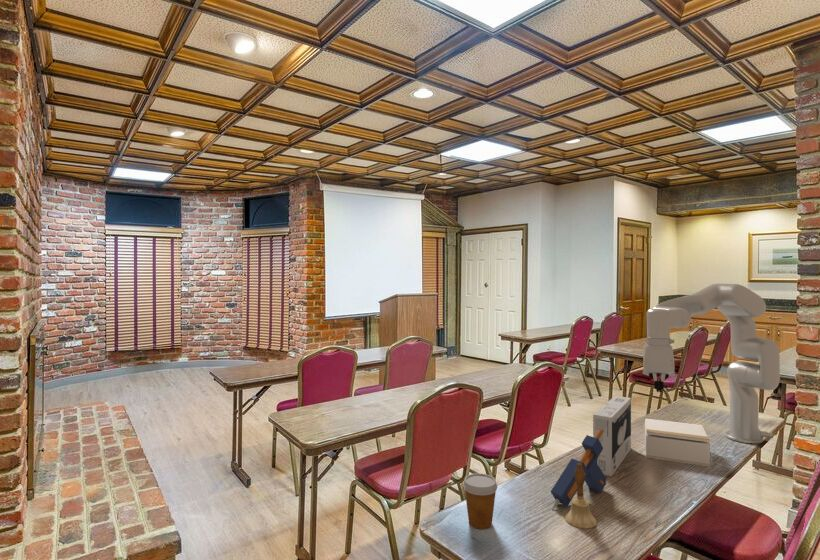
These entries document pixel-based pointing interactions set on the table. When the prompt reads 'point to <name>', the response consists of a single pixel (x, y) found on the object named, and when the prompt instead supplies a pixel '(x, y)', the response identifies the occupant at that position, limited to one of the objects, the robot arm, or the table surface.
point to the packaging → (613, 433)
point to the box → (677, 449)
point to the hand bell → (580, 505)
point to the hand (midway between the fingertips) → (658, 391)
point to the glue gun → (593, 473)
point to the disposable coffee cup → (480, 499)
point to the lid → (676, 430)
